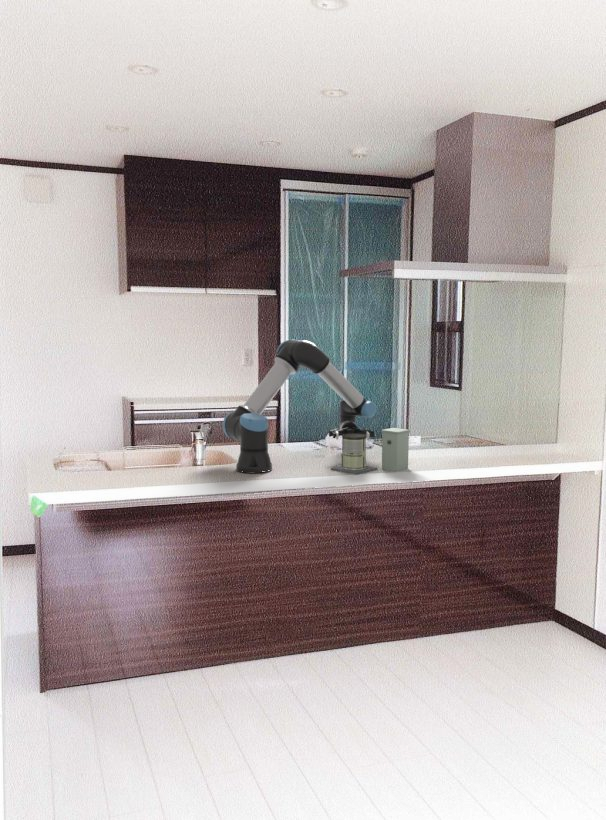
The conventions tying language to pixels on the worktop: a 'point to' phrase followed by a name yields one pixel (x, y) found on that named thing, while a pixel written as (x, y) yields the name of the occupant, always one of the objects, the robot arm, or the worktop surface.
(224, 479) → the worktop surface
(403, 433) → the block
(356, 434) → the coffee can
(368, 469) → the pad
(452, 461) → the worktop surface
